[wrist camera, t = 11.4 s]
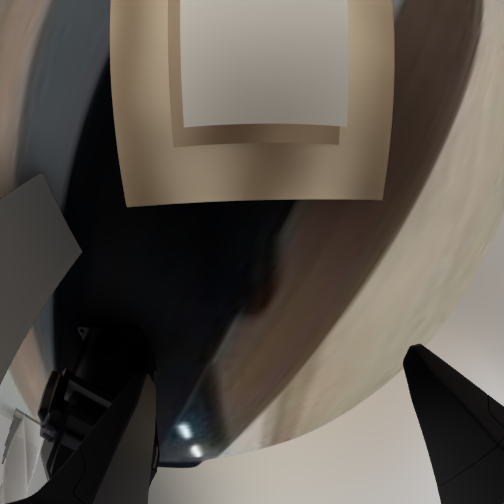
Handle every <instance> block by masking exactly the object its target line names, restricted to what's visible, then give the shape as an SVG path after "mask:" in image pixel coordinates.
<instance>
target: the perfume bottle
mask: <svg viewBox="0 0 504 504" xmlns="http://www.w3.org/2000/svg"><path fill="white" fill-rule="evenodd" d="M81 253H82V250H81V249H80V247H79V245H78V243H77V241H76V240H75V238H74V236H73V234H72V232H71V230H70V229H69V227H68V225H67V223H66V221H65V219H64V217H63V215H62V213H61V211H60V209H59V207H58V205H57V203H56V201H55V199H54V197H53V195H52V192H51V190H50V188H49V186H48V184H47V181H46V179H45V177H44V175H43V172H42V173H40V174H38V175H37V176H35V177H34V178H32V179H30V180H29V181H27V182H26V183H24V184H22V185H21V186H19V187H18V188H16V189H15V190H13V191H12V192H10V193H9V194H7V195H6V196H4V197H3V198H1V199H0V384H1V382H2V380H3V378H4V376H5V374H6V372H7V370H8V368H9V366H10V364H11V362H12V360H13V358H14V357H15V355H16V353H17V351H18V349H19V347H20V346H21V344H22V342H23V340H24V338H25V337H26V335H27V333H28V332H29V330H30V328H31V326H32V325H33V323H34V321H35V320H36V318H37V317H38V315H39V313H40V312H41V310H42V309H43V307H44V306H45V304H46V302H47V301H48V299H49V298H50V296H51V295H52V293H53V292H54V290H55V289H56V287H57V286H58V284H59V283H60V282H61V280H62V279H63V277H64V276H65V274H66V273H67V272H68V270H69V269H70V268H71V266H72V265H73V263H74V262H75V261H76V259H77V258H78V257H79V255H80V254H81Z"/></svg>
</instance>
